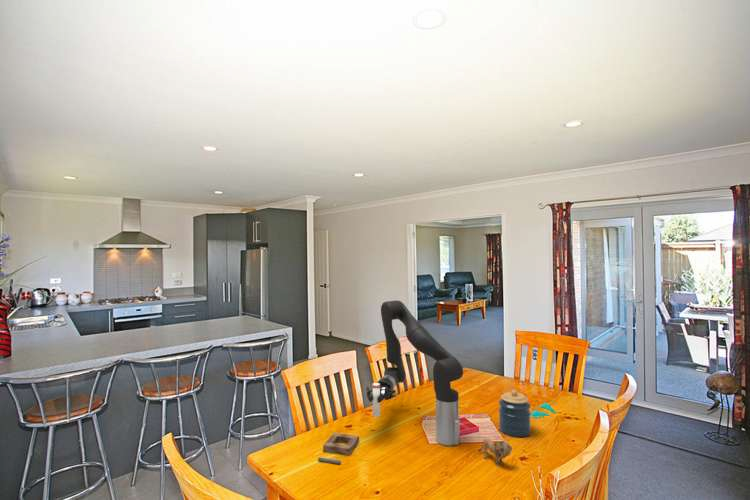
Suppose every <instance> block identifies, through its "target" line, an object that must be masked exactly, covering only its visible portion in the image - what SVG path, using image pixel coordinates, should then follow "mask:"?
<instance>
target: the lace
mask: <svg viewBox="0 0 750 500" xmlns="http://www.w3.org/2000/svg"><path fill="white" fill-rule="evenodd" d="M317 461H319V462H325V463H331V464H335V465H336V464H337V465H341V464H342V461H341V460H339V459H333V458H329V457H327V458H326V457H320V456H319V457H318V458H317Z"/></svg>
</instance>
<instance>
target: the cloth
mask: <svg viewBox="0 0 750 500" xmlns="http://www.w3.org/2000/svg"><path fill="white" fill-rule="evenodd" d="M551 403H552V404H554V402H553V401H551ZM538 407H541V408H544V409H547V410H549V411H551V412H553V413H556V412H555V411H554V410H553V409H552V408H551V406H550V405H549V403H548V402H545V403H543V404H541V405H539V406H538ZM530 413H531V415H532V416H531V415H530V416H531V417H533V418H534V419H539V418H538V417H537V416H539V417H540V416H541V417H544V416H550V415H548V414H546V413H543V412H540V411H537V409H535V410H533V411H530ZM534 416H535V417H534Z"/></svg>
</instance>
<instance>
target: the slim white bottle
mask: <svg viewBox="0 0 750 500" xmlns="http://www.w3.org/2000/svg"><path fill="white" fill-rule="evenodd" d="M372 388H373V400H372V417H373V418H379V417H381V402H380V403H378V396H379V395H380V383H377V382H373V383H372Z"/></svg>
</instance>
